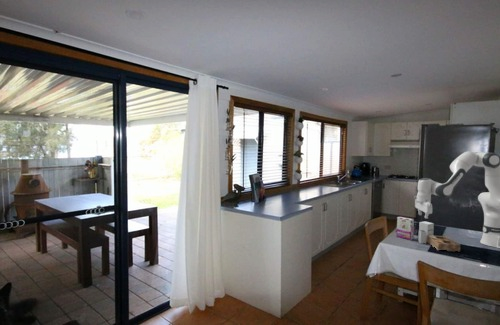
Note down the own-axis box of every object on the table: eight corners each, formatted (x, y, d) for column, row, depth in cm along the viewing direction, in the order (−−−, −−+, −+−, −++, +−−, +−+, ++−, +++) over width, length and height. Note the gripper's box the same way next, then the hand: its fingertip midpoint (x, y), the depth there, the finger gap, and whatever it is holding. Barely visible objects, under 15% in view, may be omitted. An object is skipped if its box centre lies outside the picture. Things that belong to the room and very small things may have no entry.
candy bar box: (413, 239, 210) (414, 219, 209) (410, 240, 207) (411, 220, 206) (398, 235, 219) (399, 216, 218) (396, 236, 216) (396, 217, 215)
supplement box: (427, 239, 209) (428, 224, 208) (418, 236, 215) (418, 221, 215) (433, 238, 211) (434, 223, 211) (424, 235, 218) (425, 220, 217)
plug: (423, 241, 205) (424, 229, 204) (426, 243, 201) (426, 231, 200) (418, 241, 205) (418, 229, 205) (420, 243, 201) (420, 231, 201)
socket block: (445, 242, 203) (446, 235, 202) (459, 251, 185) (460, 244, 185) (425, 241, 205) (426, 234, 205) (438, 250, 188) (438, 243, 187)
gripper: (435, 201, 190) (434, 220, 191) (422, 196, 210) (421, 213, 211) (425, 201, 191) (425, 220, 192) (413, 196, 211) (412, 213, 212)
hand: (423, 216), depth 202 cm, fingers open, 8 cm apart
